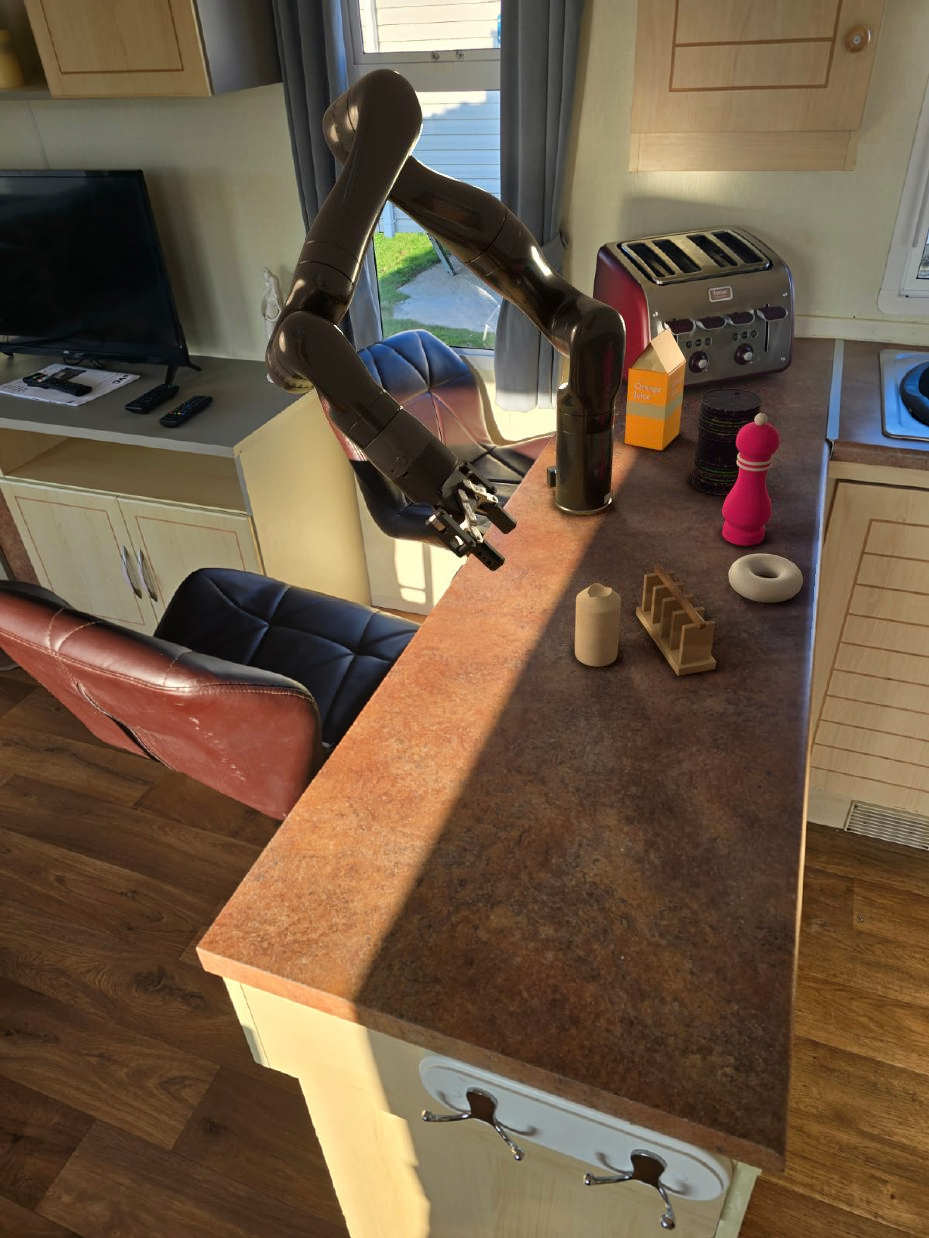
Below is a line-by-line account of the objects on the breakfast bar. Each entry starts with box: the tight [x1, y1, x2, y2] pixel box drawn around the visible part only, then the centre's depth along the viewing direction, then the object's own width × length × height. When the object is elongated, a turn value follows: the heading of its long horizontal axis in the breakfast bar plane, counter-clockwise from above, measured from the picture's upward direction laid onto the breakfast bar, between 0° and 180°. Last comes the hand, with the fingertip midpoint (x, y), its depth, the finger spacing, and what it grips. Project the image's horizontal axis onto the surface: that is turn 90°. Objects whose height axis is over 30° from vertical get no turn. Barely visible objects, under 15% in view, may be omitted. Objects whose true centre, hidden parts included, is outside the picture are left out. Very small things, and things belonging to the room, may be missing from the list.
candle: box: [574, 582, 622, 668], centre depth 107 cm, size 6×6×10 cm
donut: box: [727, 553, 804, 604], centre depth 120 cm, size 10×4×10 cm
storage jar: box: [691, 387, 763, 496], centre depth 143 cm, size 10×10×15 cm
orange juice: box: [624, 327, 687, 451], centre depth 158 cm, size 8×9×20 cm
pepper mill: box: [721, 412, 781, 547], centre depth 127 cm, size 7×7×20 cm
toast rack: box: [635, 564, 717, 677], centre depth 110 cm, size 14×5×8 cm, turn 12°
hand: (506, 547), depth 104 cm, fingers open, 8 cm apart
